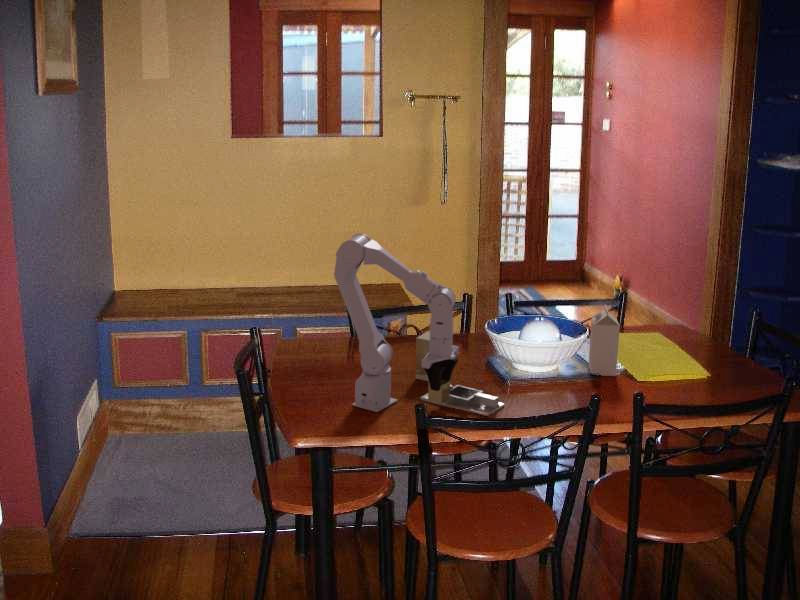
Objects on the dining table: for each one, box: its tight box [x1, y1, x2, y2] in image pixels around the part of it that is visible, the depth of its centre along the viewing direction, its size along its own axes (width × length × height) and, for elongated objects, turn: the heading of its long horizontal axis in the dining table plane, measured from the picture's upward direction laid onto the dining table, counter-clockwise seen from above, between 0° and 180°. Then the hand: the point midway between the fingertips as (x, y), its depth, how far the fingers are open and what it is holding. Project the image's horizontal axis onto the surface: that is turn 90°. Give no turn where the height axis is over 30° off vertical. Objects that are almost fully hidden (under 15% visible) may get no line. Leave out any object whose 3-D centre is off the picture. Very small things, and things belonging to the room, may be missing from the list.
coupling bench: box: [420, 383, 506, 415], centre depth 244 cm, size 9×20×4 cm, turn 55°
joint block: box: [427, 379, 451, 404], centre depth 239 cm, size 4×4×5 cm
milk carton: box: [588, 304, 621, 377], centre depth 266 cm, size 7×7×19 cm
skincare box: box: [415, 331, 430, 382], centre depth 261 cm, size 6×4×12 cm
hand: (439, 387), depth 238 cm, fingers closed on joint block, 4 cm apart
